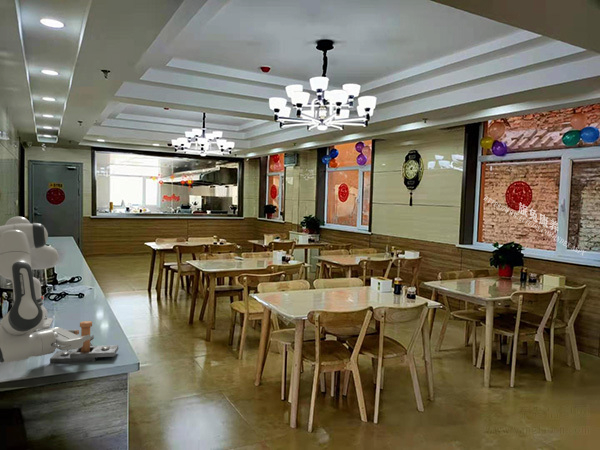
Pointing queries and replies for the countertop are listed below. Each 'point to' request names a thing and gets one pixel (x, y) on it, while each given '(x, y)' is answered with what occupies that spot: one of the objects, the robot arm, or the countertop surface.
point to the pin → (84, 331)
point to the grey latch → (84, 354)
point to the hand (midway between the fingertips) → (83, 334)
